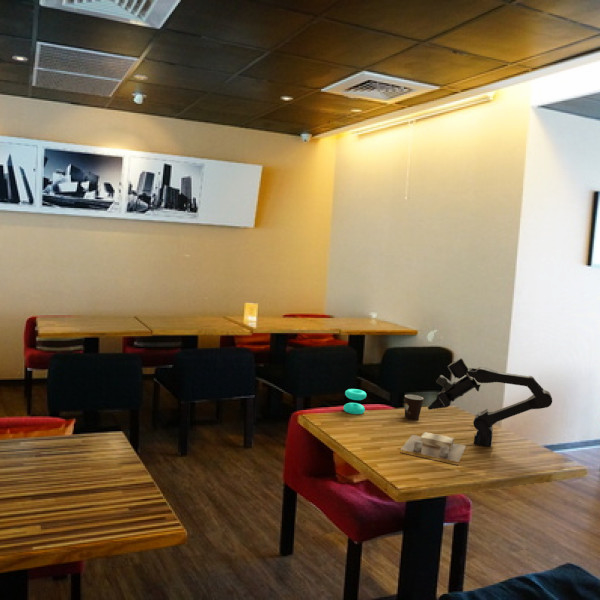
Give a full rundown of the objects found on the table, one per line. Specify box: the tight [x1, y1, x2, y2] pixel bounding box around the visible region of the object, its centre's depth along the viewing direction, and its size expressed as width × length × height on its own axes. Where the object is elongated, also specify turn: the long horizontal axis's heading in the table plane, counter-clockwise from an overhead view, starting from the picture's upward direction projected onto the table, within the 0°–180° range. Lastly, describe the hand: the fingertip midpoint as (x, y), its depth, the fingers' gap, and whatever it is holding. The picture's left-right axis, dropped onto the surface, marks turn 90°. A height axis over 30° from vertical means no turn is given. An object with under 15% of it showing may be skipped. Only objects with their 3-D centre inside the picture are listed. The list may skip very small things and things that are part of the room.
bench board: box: [399, 434, 467, 467], centre depth 245 cm, size 22×22×5 cm
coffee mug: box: [402, 394, 424, 421], centre depth 291 cm, size 12×9×10 cm
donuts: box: [343, 388, 367, 415], centre depth 291 cm, size 10×10×10 cm
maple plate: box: [420, 431, 455, 449], centre depth 250 cm, size 12×8×2 cm, turn 68°
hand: (430, 406), depth 261 cm, fingers open, 9 cm apart
